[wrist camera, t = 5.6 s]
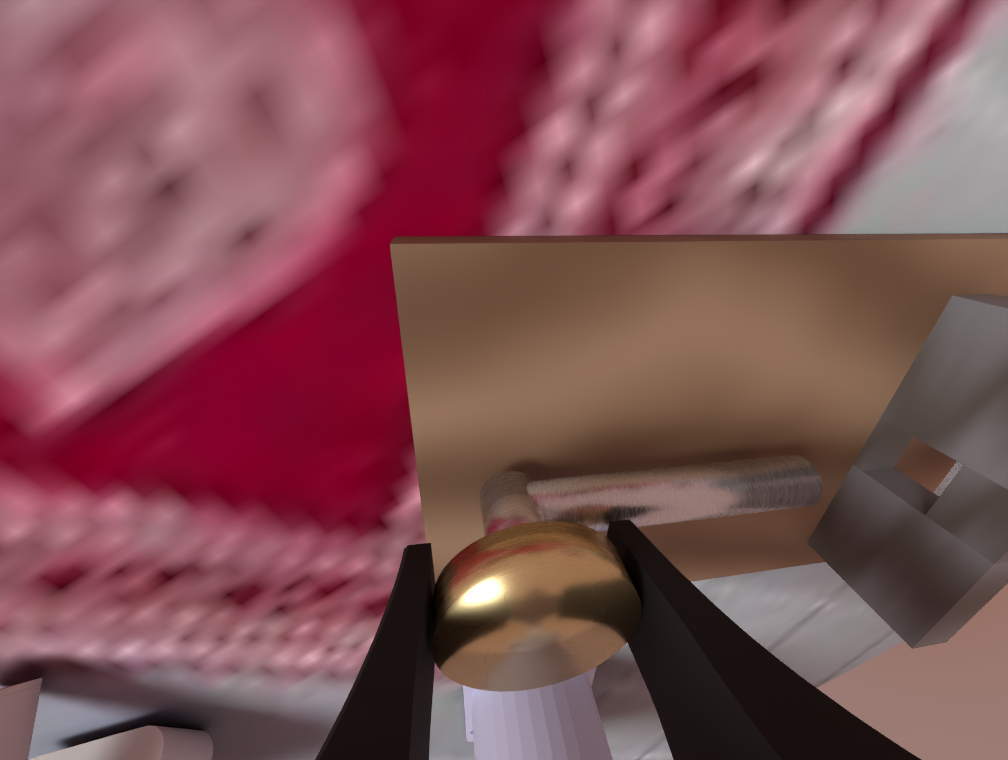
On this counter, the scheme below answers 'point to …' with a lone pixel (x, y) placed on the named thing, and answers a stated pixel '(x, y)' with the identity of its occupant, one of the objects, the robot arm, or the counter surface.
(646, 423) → the wooden board
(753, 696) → the robot arm
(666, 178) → the counter surface
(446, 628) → the brass knob with shaft
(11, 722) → the wall hook
